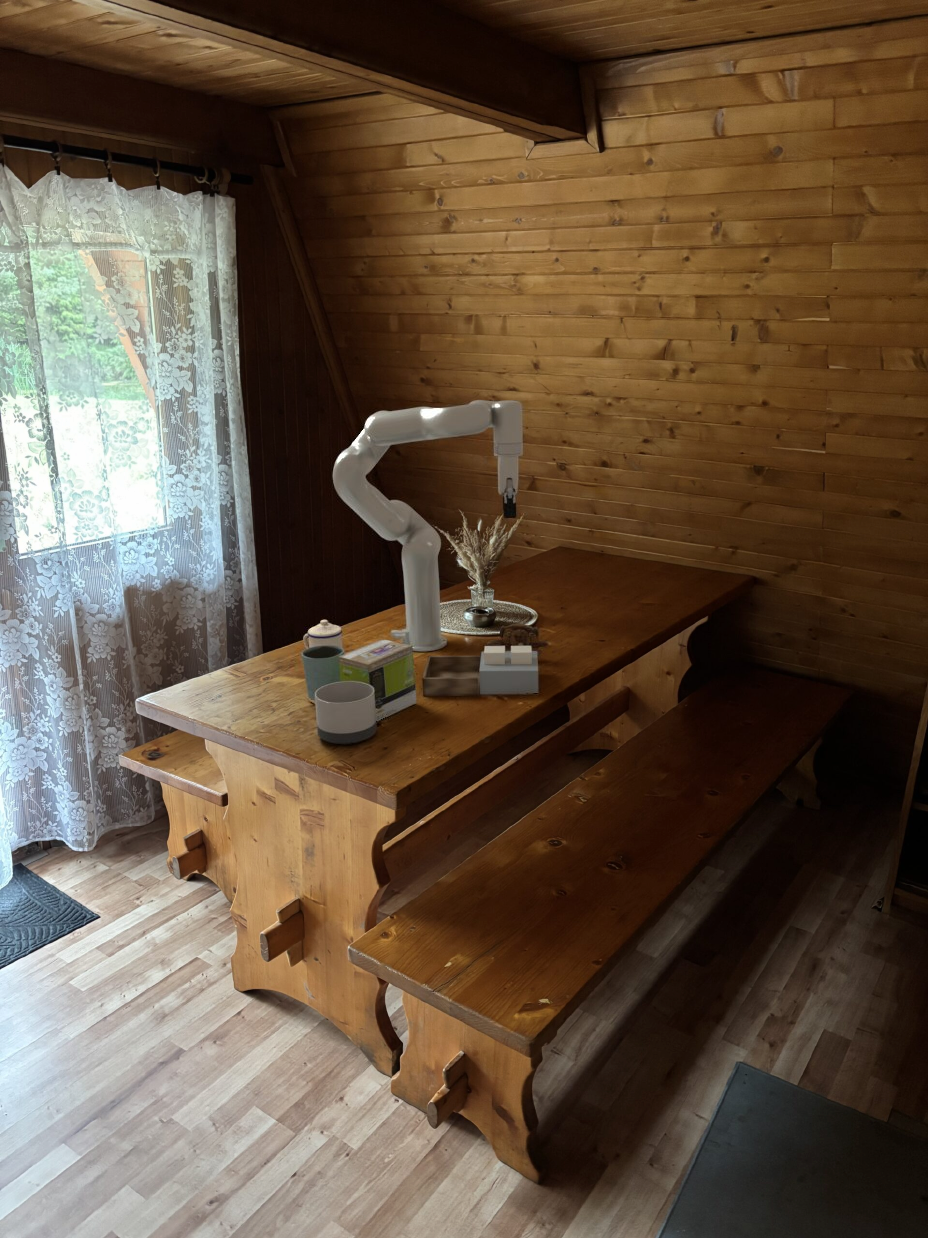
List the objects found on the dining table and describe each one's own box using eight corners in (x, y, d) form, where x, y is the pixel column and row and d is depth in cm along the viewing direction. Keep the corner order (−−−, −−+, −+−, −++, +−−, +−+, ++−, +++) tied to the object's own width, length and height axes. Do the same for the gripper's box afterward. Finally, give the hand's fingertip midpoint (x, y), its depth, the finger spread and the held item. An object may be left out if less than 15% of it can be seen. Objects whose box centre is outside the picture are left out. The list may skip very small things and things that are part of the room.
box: (422, 696, 231) (422, 678, 229) (429, 672, 246) (428, 656, 244) (478, 695, 230) (478, 678, 228) (481, 672, 245) (480, 655, 244)
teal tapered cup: (308, 708, 225) (304, 660, 221) (302, 693, 234) (298, 647, 231) (350, 703, 228) (347, 655, 224) (343, 688, 237) (340, 642, 233)
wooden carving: (486, 665, 250) (485, 628, 247) (486, 659, 254) (485, 623, 251) (549, 663, 250) (549, 627, 247) (548, 657, 254) (548, 621, 251)
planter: (336, 754, 201) (332, 708, 198) (307, 734, 211) (304, 690, 208) (388, 738, 208) (385, 693, 205) (358, 719, 218) (355, 676, 215)
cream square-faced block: (484, 664, 233) (484, 652, 232) (485, 657, 238) (484, 646, 237) (504, 664, 233) (504, 652, 232) (505, 657, 237) (505, 645, 237)
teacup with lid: (351, 659, 257) (348, 618, 253) (329, 670, 249) (326, 627, 246) (316, 652, 263) (313, 612, 259) (294, 663, 255) (290, 621, 252)
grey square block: (479, 694, 231) (479, 671, 229) (482, 673, 244) (481, 651, 242) (538, 694, 230) (538, 670, 228) (537, 673, 243) (537, 651, 241)
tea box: (386, 695, 232) (383, 637, 228) (417, 704, 226) (414, 645, 221) (341, 715, 221) (337, 654, 217) (372, 725, 215) (368, 663, 210)
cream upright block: (511, 664, 233) (510, 652, 232) (511, 657, 237) (511, 645, 237) (531, 664, 232) (531, 652, 231) (531, 657, 237) (531, 645, 236)
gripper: (493, 445, 257) (494, 508, 262) (494, 454, 241) (495, 521, 246) (521, 444, 257) (522, 507, 262) (524, 453, 240) (525, 520, 246)
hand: (509, 514), depth 254 cm, fingers open, 9 cm apart
